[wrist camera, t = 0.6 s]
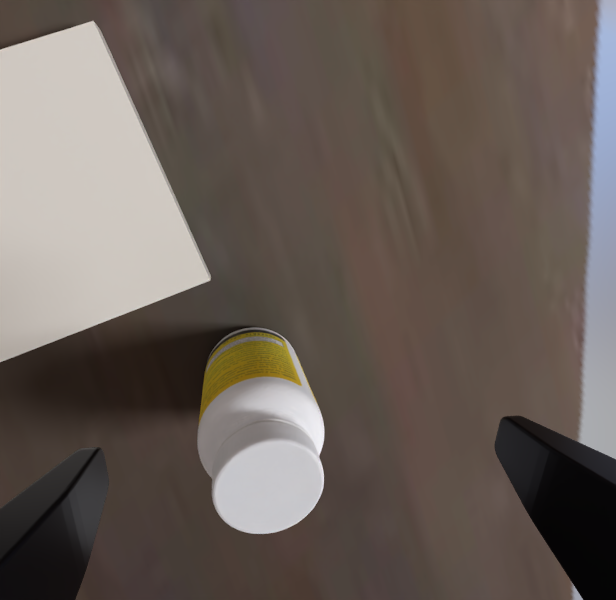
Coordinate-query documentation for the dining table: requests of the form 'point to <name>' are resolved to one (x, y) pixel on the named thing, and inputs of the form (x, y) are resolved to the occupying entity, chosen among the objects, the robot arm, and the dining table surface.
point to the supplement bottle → (260, 433)
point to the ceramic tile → (80, 196)
